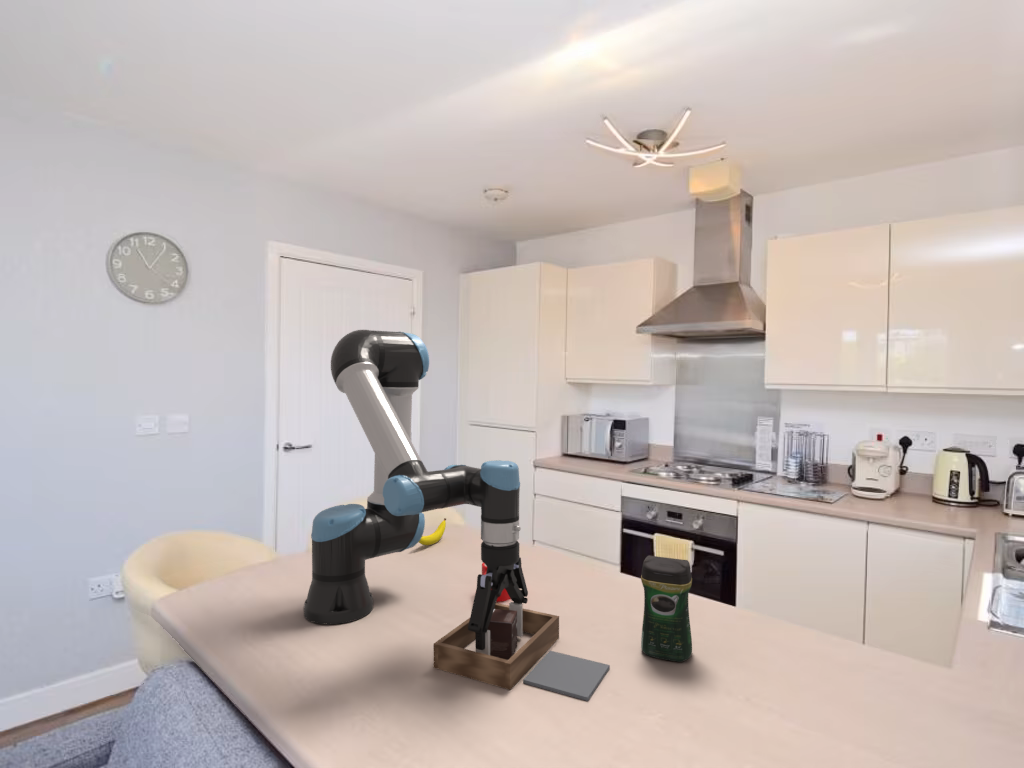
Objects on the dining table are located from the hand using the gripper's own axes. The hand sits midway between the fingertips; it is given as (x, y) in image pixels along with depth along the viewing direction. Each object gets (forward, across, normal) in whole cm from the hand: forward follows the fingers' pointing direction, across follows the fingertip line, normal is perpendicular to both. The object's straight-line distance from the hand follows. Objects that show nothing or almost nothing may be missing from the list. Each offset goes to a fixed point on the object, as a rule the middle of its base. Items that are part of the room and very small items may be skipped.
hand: (500, 649), depth 111 cm
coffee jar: (+1, +15, -29) cm, 33 cm away
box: (+1, 0, 0) cm, 1 cm away
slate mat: (+1, -2, -15) cm, 15 cm away
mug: (+1, +23, +14) cm, 27 cm away
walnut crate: (+1, 0, 0) cm, 1 cm away
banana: (0, +52, +53) cm, 74 cm away
